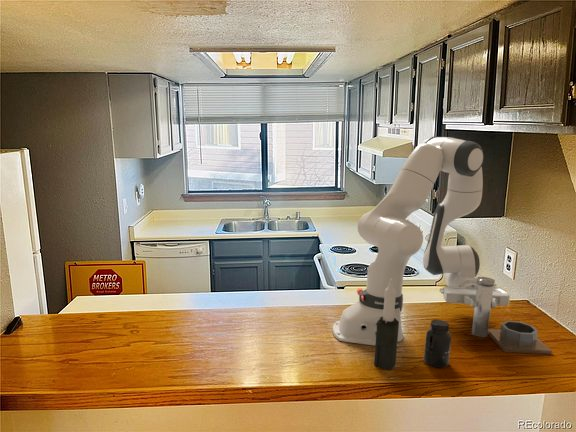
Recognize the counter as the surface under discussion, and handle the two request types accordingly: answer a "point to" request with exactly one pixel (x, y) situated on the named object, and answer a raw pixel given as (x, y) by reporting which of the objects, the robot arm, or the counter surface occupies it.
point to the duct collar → (518, 338)
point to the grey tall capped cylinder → (482, 306)
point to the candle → (387, 332)
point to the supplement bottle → (437, 344)
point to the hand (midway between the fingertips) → (484, 304)
